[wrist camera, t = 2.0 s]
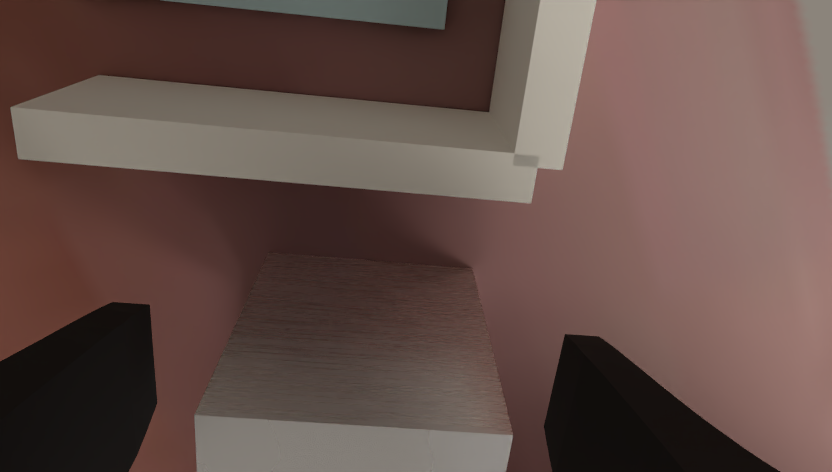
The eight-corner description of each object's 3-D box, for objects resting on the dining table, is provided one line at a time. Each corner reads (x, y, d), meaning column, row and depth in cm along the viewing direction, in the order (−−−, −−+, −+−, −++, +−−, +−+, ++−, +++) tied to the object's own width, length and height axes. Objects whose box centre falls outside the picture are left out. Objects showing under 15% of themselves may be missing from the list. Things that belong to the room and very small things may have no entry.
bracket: (269, 250, 14) (194, 415, 9) (472, 266, 14) (513, 435, 9) (267, 431, 16) (205, 650, 11) (445, 441, 16) (466, 661, 11)
